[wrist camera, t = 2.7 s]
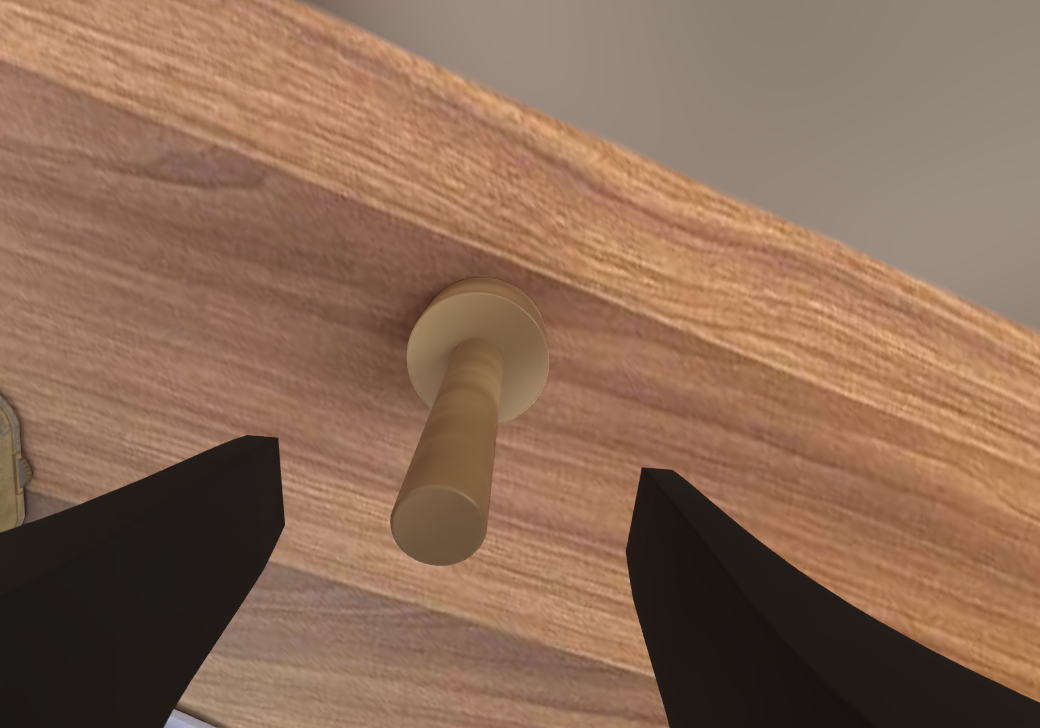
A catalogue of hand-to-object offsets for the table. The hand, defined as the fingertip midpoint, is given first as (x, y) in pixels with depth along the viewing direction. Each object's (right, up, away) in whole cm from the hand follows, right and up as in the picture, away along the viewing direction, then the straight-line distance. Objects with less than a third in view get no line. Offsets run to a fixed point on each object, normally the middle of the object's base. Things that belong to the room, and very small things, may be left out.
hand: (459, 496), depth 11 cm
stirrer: (0, +3, +8) cm, 9 cm away
